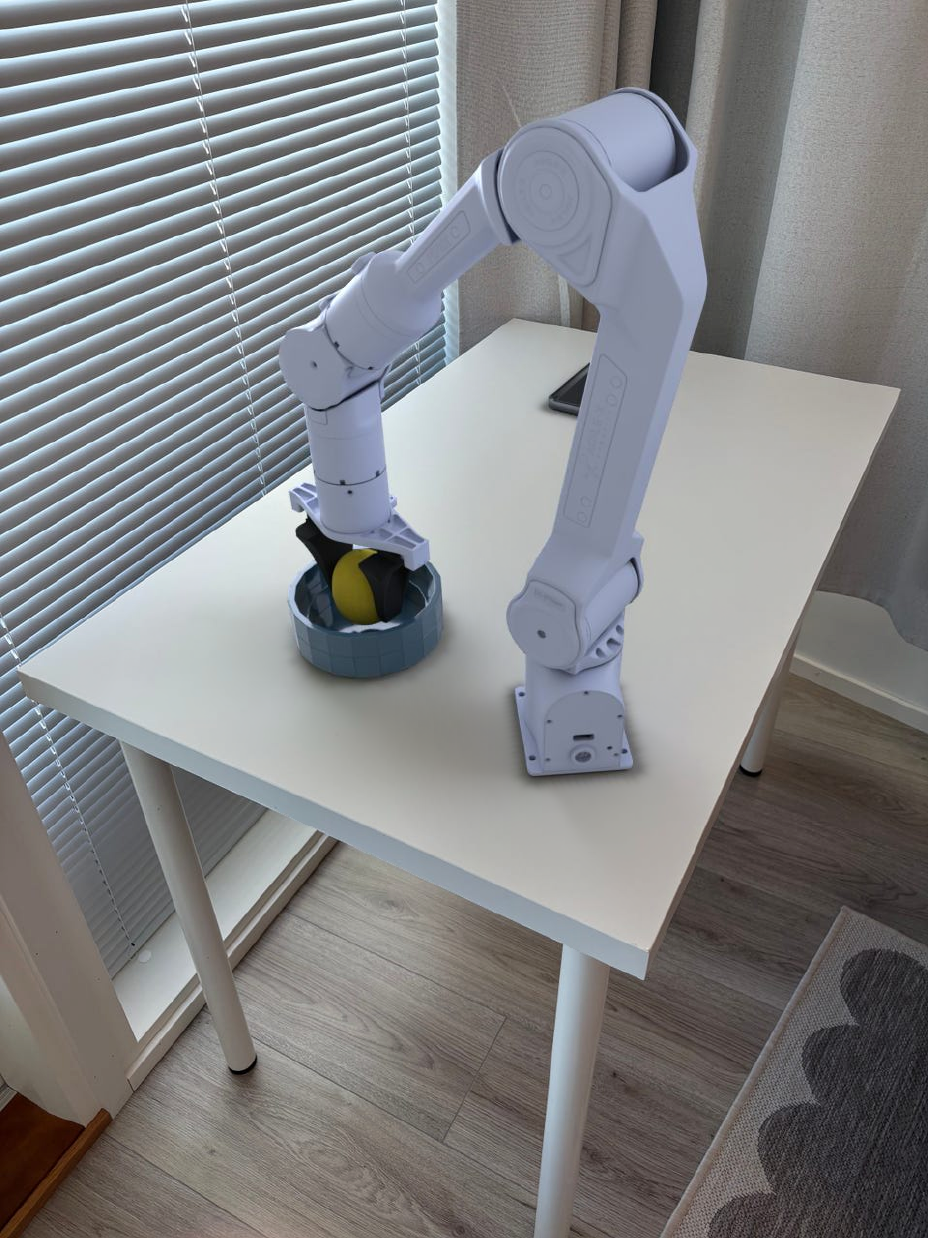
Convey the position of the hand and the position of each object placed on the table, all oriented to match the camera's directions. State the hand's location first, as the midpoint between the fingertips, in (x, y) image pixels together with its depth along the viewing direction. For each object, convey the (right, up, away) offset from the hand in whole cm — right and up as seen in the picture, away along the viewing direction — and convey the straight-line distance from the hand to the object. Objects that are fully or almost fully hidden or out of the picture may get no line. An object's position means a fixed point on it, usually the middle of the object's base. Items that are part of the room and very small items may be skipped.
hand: (366, 602), depth 83 cm
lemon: (0, -2, +2) cm, 3 cm away
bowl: (0, -3, +2) cm, 3 cm away
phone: (+26, +28, +38) cm, 54 cm away
